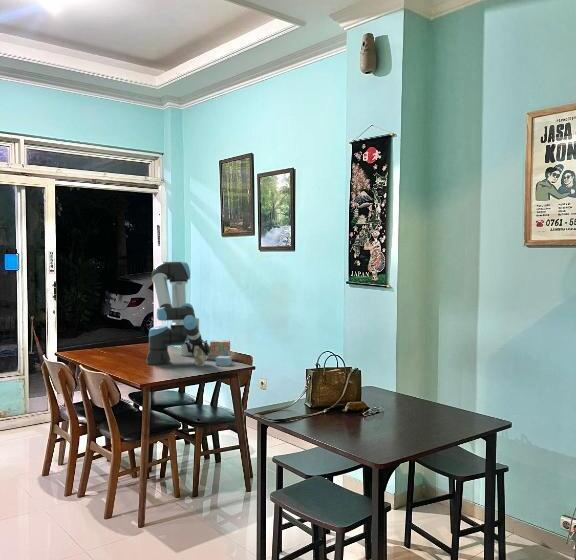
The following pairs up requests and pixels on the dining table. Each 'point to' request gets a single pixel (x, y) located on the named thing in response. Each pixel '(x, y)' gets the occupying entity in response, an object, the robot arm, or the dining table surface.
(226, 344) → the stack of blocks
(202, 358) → the pillar
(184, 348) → the cylinder vase
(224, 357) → the base block
